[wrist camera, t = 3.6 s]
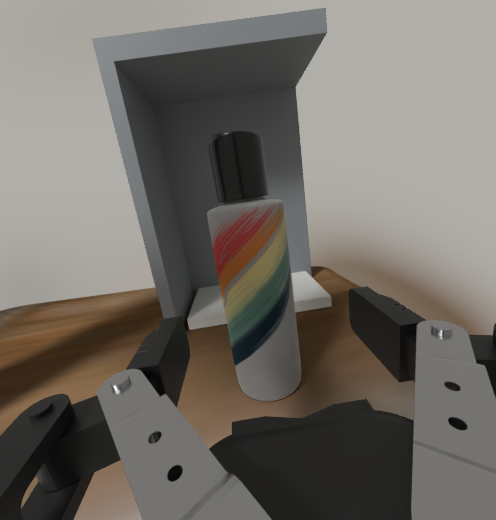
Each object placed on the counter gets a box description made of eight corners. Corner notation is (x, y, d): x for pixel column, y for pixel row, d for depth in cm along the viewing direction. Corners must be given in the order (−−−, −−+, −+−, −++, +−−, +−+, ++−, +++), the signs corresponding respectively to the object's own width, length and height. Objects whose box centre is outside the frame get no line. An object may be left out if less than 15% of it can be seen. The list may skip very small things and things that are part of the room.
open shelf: (168, 337, 31) (91, 38, 23) (187, 295, 45) (143, 97, 37) (342, 308, 32) (325, 7, 24) (309, 275, 46) (291, 76, 38)
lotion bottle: (239, 360, 25) (201, 147, 20) (296, 353, 25) (271, 135, 20) (236, 407, 19) (182, 129, 14) (309, 399, 19) (279, 113, 14)
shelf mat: (189, 330, 32) (187, 319, 32) (200, 296, 44) (198, 288, 43) (331, 306, 33) (330, 296, 33) (306, 278, 44) (305, 270, 44)
